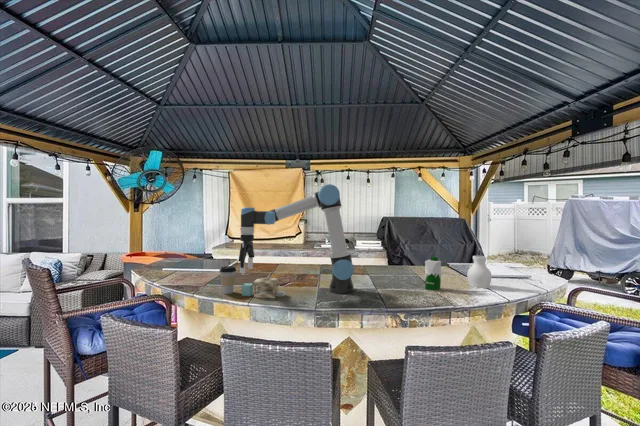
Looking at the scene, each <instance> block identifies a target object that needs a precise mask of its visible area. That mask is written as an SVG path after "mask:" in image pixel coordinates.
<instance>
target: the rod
mask: <svg viewBox="0 0 640 426" xmlns="http://www.w3.org/2000/svg"><path fill="white" fill-rule="evenodd" d="M285 293H286V291H285V290H284V291H282V290H281V291H280V290H278V291H275V297H285V295H286V294H285ZM256 294H273V291H258V289H256ZM252 295H254V289H253V290H252V291H251V296H252Z"/></svg>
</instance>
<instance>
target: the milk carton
mask: <svg viewBox="0 0 640 426" xmlns="http://www.w3.org/2000/svg"><path fill="white" fill-rule="evenodd" d="M438 258H439V257H436V256H431V257H430V259H427V260H425V261H424V267H425V270H424V271H425V272H424V274H425V275H424V277H425V278H424V280H425V281H424V282H425V283H424V284H425V285H424V289H425V290H429V289H430V290H431V291H434V290H437V291H439V290H440V289H441V283H442V279H441V276H442V275H441V274H442V260H438ZM438 289H439V290H438Z"/></svg>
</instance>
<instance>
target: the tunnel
mask: <svg viewBox="0 0 640 426" xmlns="http://www.w3.org/2000/svg"><path fill="white" fill-rule="evenodd" d="M253 290H254V296H253V298H258V299H259V298H261V299H275V298H276V296H275V291H279V278H278V277H277V278H272V277H258V278H256V279H255V280H254V281H253ZM256 290H257V291H273V294H256Z"/></svg>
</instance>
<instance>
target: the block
mask: <svg viewBox="0 0 640 426" xmlns="http://www.w3.org/2000/svg"><path fill="white" fill-rule="evenodd" d="M252 290H254V282H252V283H251V282H250V283H247V282H245V283H243V284H242V285H241V296H242V297H251V296H252V295H251V291H252Z"/></svg>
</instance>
